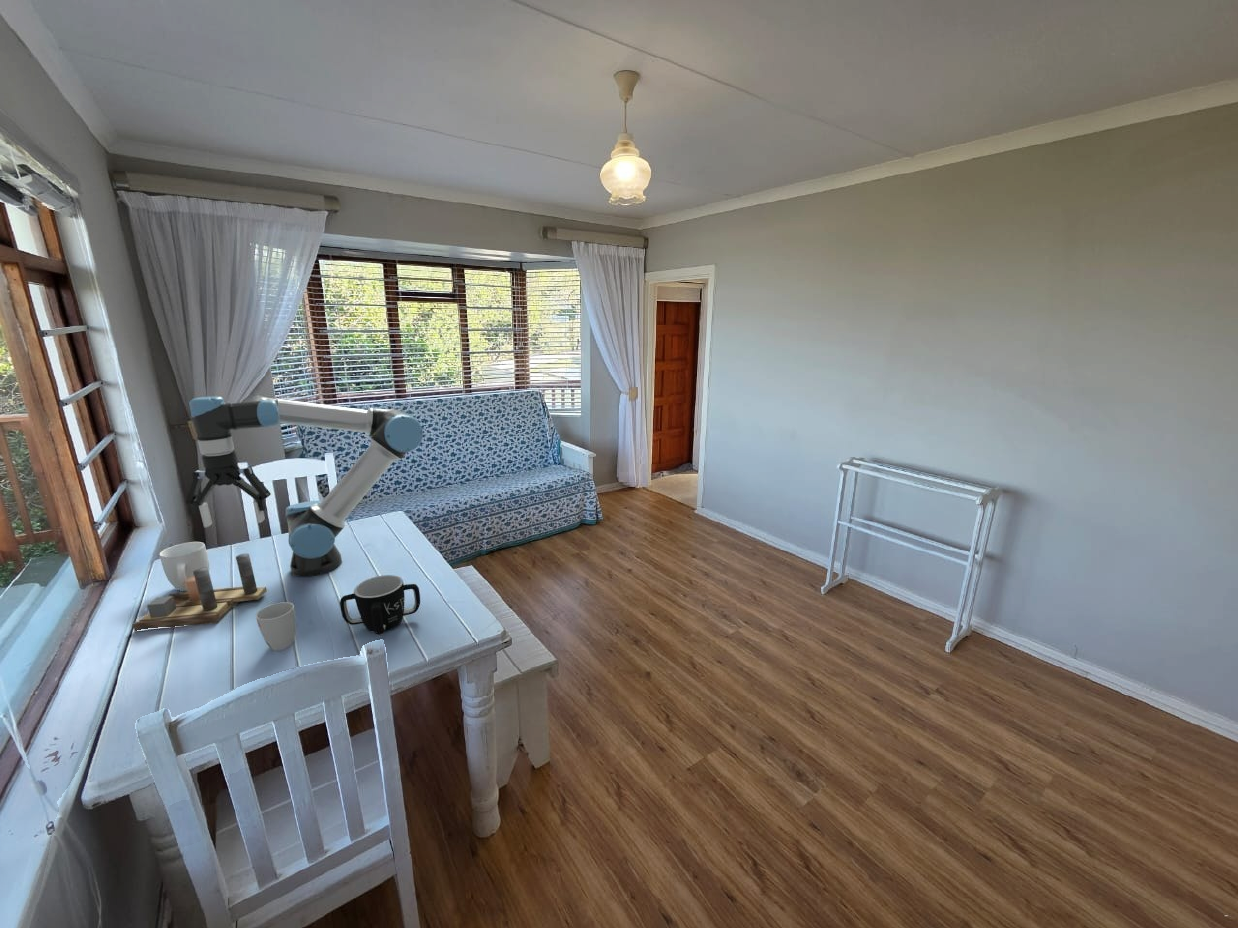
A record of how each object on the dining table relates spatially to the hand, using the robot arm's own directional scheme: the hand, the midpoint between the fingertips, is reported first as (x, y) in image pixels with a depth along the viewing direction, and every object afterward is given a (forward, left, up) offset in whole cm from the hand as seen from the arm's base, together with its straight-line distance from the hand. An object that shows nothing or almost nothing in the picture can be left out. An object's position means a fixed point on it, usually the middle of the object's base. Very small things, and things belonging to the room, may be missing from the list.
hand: (235, 523), depth 145 cm
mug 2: (-42, +23, -25) cm, 54 cm away
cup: (-19, +27, -25) cm, 41 cm away
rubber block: (+19, +8, -22) cm, 30 cm away
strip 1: (+14, +8, -24) cm, 28 cm away
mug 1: (+22, -12, -25) cm, 36 cm away
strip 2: (+7, 0, -24) cm, 24 cm away
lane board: (+14, +4, -25) cm, 28 cm away
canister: (+14, 0, -22) cm, 26 cm away
